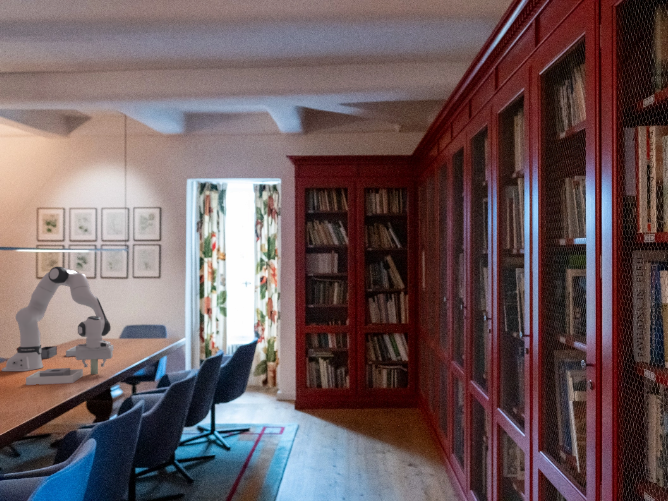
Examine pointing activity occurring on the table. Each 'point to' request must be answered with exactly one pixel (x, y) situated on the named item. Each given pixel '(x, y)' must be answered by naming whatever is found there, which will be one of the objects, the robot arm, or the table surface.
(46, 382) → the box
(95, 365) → the peg
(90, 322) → the robot arm
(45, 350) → the dark grey open bin
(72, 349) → the shell tray
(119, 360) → the table surface
